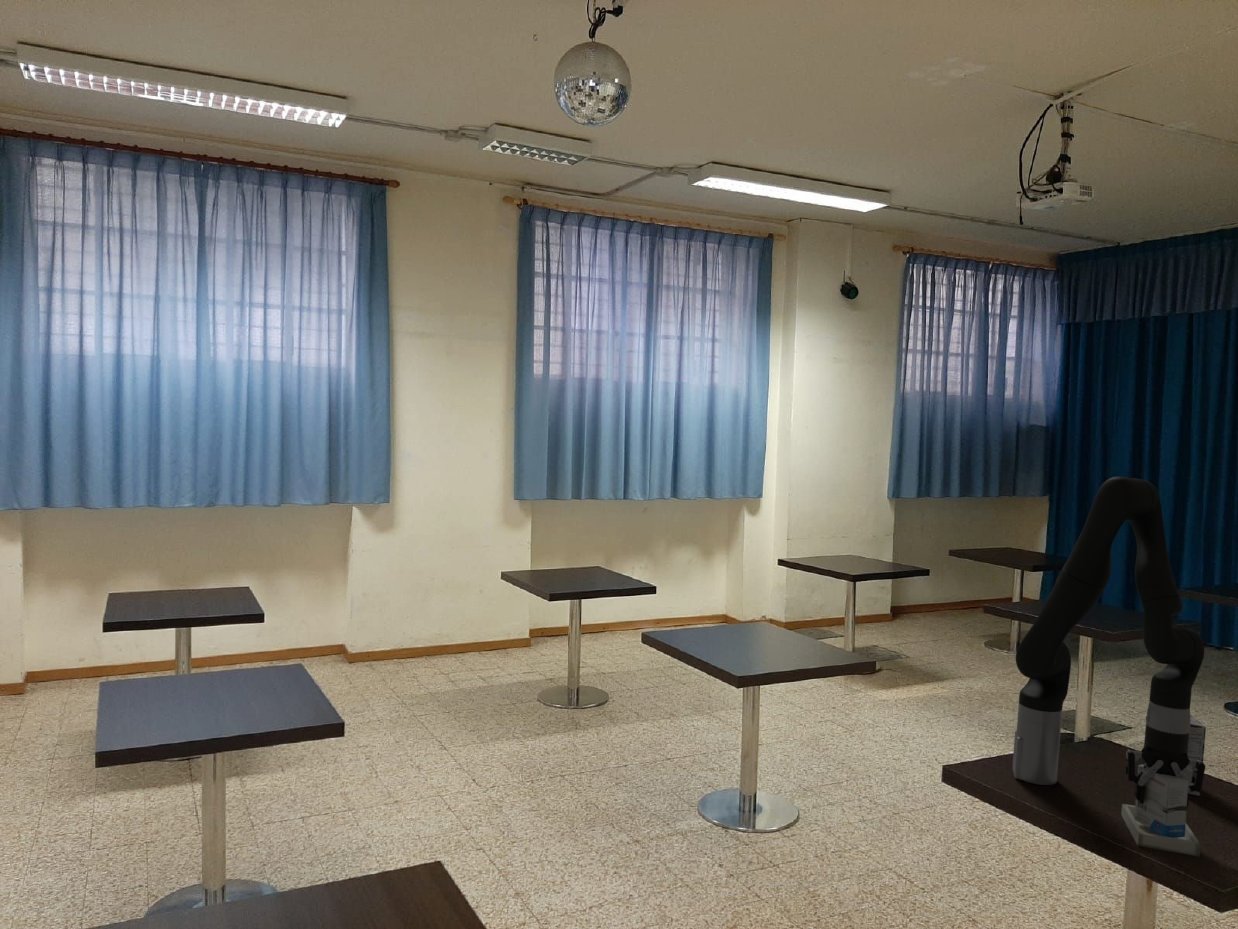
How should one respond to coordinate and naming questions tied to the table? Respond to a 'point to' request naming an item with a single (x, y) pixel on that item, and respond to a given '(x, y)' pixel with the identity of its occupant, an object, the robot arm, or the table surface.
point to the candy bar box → (1195, 748)
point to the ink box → (1163, 805)
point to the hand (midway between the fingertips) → (1160, 805)
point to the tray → (1159, 836)
